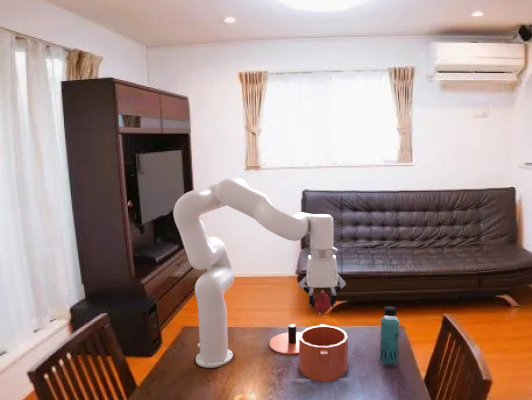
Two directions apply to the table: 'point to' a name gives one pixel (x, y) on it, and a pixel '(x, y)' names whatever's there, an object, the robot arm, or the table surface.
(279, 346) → the lid
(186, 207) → the robot arm
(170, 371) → the table surface
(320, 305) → the onion
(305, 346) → the dutch oven
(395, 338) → the beverage bottle
